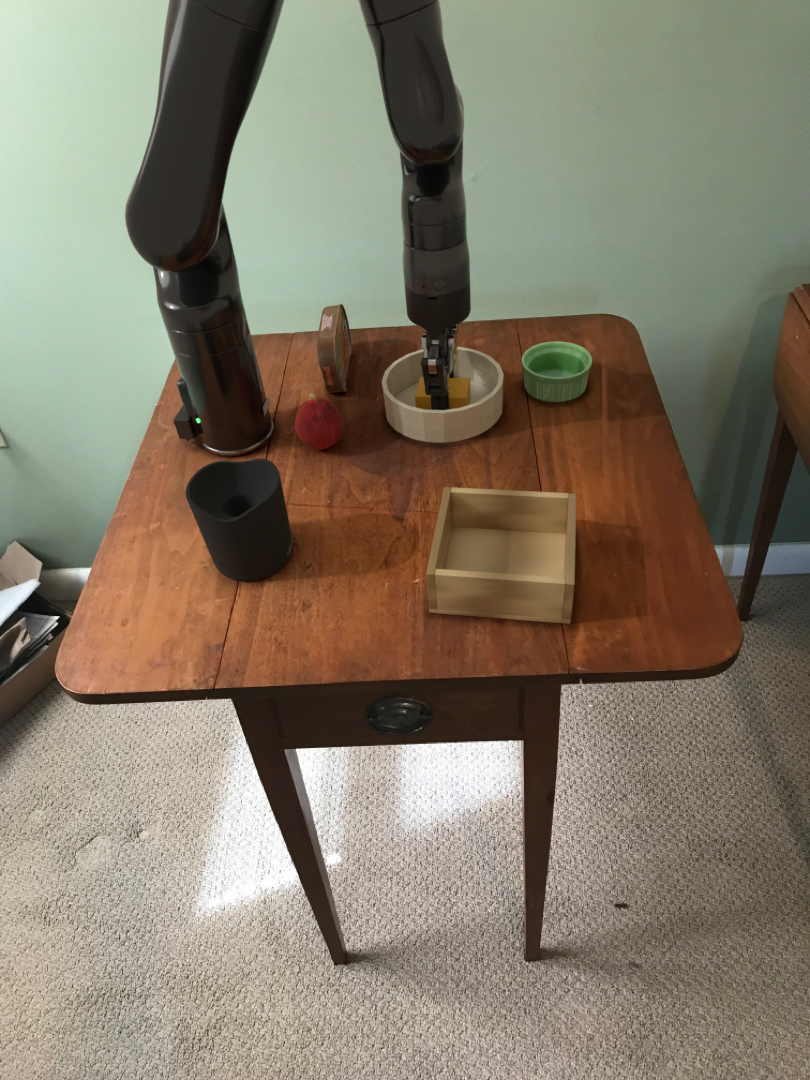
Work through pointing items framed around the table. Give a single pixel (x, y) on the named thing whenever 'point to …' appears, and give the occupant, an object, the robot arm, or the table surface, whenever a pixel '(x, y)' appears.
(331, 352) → the tin
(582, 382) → the ramekin
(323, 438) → the onion
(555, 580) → the box
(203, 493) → the pen holder
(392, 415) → the bowl
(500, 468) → the table surface
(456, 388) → the yellow rectangular block
